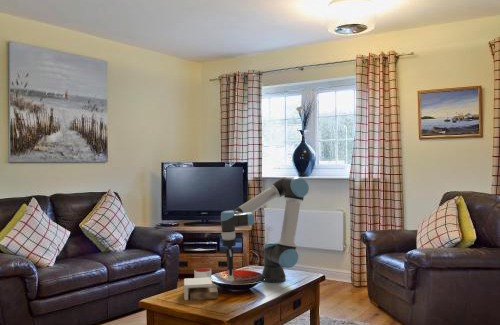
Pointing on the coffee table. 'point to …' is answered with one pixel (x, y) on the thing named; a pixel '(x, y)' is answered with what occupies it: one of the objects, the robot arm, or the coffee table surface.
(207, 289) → the board
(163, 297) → the coffee table surface
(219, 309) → the coffee table surface
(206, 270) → the cup
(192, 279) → the shelf
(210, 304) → the coffee table surface
